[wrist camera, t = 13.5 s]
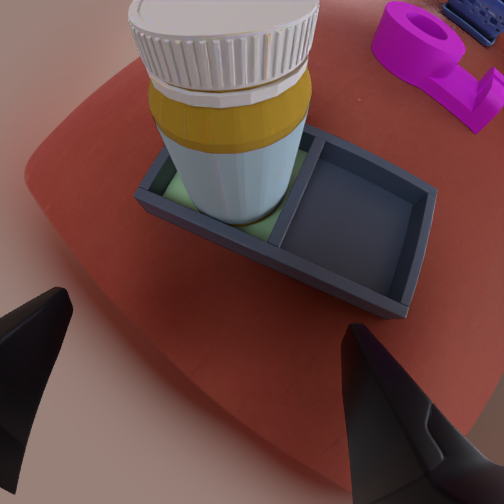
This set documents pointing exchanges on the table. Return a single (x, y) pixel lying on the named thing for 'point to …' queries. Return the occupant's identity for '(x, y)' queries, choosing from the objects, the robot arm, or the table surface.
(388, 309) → the blue-grey divided tray
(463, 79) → the tape dispenser
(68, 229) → the table surface
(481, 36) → the flower pot
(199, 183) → the bottle
